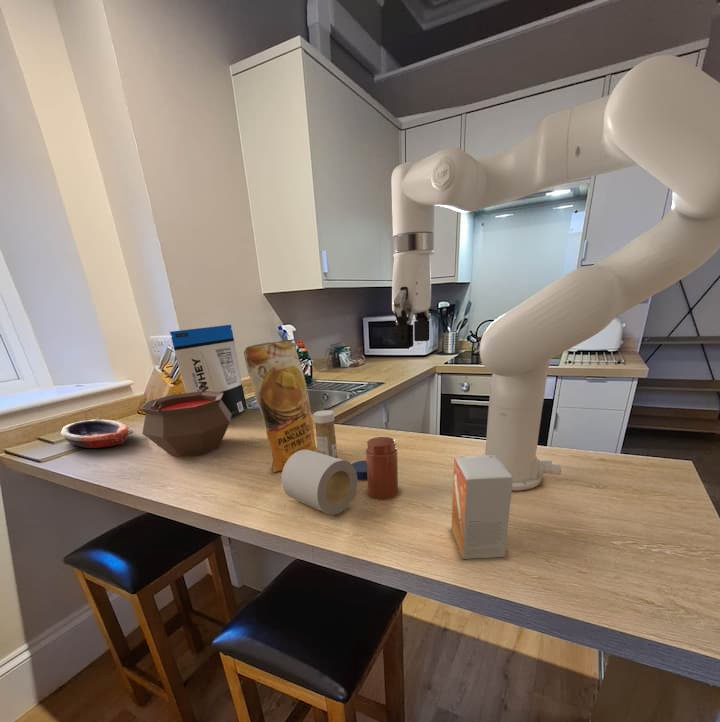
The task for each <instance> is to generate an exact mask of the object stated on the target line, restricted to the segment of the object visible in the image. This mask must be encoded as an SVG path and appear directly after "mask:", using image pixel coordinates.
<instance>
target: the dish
mask: <svg viewBox="0 0 720 722" xmlns="http://www.w3.org/2000/svg"><path fill="white" fill-rule="evenodd" d="M60 434H61V436H62V437H63V438H64V439H65V440H66V441H67V442H68V443H70V444H71V445H73V446H77V447H81V448H84V449H85V448H86V449H99V448H109V447H114V446H118V445H121V444H123V443H125V442H126V440H127V438H128V434H129V426H128V425H126V424H125V423H124V422H120V421H118V420H117V421H116V420H112V419H111V420H109V419H102V418H100V417H96V419H89V420H88V419H86V420H79V421H76V422H75V421H74V422H72V423H69V424H67V425H65V426H63V427H62V428H61V430H60Z"/></svg>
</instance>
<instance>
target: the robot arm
mask: <svg viewBox="0 0 720 722" xmlns="http://www.w3.org/2000/svg"><path fill="white" fill-rule="evenodd" d="M635 166H640V167H641V168H642V169H644V170H645V171H646V172H647V173H649V174H650V175H651V176H652V177H654V178H655V179H656V180H658V182H660V183H662V184H663V185H664V186H665V187H667V188H668V189H669V190H671V191H672V193H671V194H672V198H671V199H672V201H671V205H670V208H669V210H668V212H667V213H666V214H665V216H663V218H661V220H660V221H659V222H657V223H656V224H655V225H653V226H652V227H651V228H649V229H648V230H646V231H644V232H642V233H641V234H640V235H638V236H637V237H635V238H633V239H632V240H630V241H629V242H627V243H626V244H625V245H623V246H622V247H620V248H618V249H617V250H616V251H613V252H612V253H611V254H609V255H607V256H606V257H605V258H603V259H601V260H599V261H598V262H596V263H594V264H592V265H590V266H583V267H579V268H576V269H573V270H571V271H569V272H567V273H566V274H564V275H562V276H561V277H559V278H556V279H555V280H554V281H553V282H551V283H549V284H548V285H546V286H545V287H543V288H542V289H540V290H539V291H537V292H536V293H535V294H533V295H531V296H530V297H528V298H527V299H525V300H524V301H522V302H521V303H519V304H517V305H516V306H514V307H513V308H511V309H510V310H508V311H507V312H505V313H504V314H502V315H500V316H499V317H498V318H497V319H495V320H494V321H492V322H491V323H490V324H489V326H487V328H486V329H485V330H484V332H483V334H482V336H481V339H480V342H479V358H480V361H481V363H482V365H483V366H484V367H485V368H486V369H487V370H488V371H489V372H490V373H491V380H490V387H489V399H488V408H487V409H488V411H487V425H486V435H485V437H486V438H485V451H484V455H495V456H496V457H497V458H498V459H499V460H500V462H501V463H502V464H504V466H505V467H506V469H507V470H508V471H509V473H510V474H511V475H512V476H513V482H512V491H513V492H514V491H516V492H517V491H524V490H530V489H534V488H535V487H538V486H539V485H540V484H541V482H542V477H543V474H549V475H561V473H562V465H561V464H554V463H553V461H552V460H540V459H538V456H537V450H538V445H539V444H538V443H539V434H540V427H541V420H542V413H543V406H544V401H545V400H544V399H545V393H546V392H545V391H546V386H547V379H548V374H549V368H550V363H551V360H552V359H553V358H556V357H557V356H559V355H561V354H562V353H565V352H567V351H568V350H570V349H572V348H575V347H576V346H578V345H580V344H582V343H584V342H586V341H587V340H589V339H590V338H592V337H594V336H595V335H597V334H599V333H600V332H601V331H603V330H604V329H606V328H607V327H608V326H609V325H610V324H611V323H612V322H613V320H614V319H616V318H618V316H620V315H622V314H624V313H625V312H627V311H629V310H630V309H633V308H634V307H636V306H637V305H639V304H642V303H643V302H645V301H647V300H649V299H650V298H652V297H653V296H656V295H657V294H658V293H661V292H662V291H664V290H665V289H667V288H669V287H670V286H672V285H674V284H676V283H677V282H679V281H681V280H682V279H684V278H685V277H687V276H688V275H690V274H692V273H693V272H694V271H696V270H697V269H698V268H700V267H701V266H703V265H704V264H706V262H707V261H708V260H709V259H711V258H712V257H713V256H714V255H715V254H716V253H717V252H718V250H719V249H720V82H719V81H718V80H717V79H715V78H714V77H712V76H711V75H709V74H707V73H706V72H705V71H704V70H702V69H701V68H699V67H697V66H696V65H694V64H693V63H692V62H690V61H688V60H686V59H685V58H682V57H680V56H677V55H673V54H661V55H656V56H652V57H650V58H647V59H644V60H643V61H641V62H639V63H638V64H637V65H635V66H633V68H631V69H630V70H629V71H627V72H626V73H625V74H624V75H623V76H622V78H621V79H620V80H618V82H617V83H616V84H615V87H614V89H613V90H612V92H611V94H608V95H605V96H602V97H599V98H596V99H593V100H590V101H587V102H584V103H581V104H578V105H575V106H572V107H569V108H566V109H562V110H560V111H557V112H554V113H551V114H549V115H547V116H546V117H544V118H543V119H542V120H541V121H540V122H539V123H538V124H537V125H536V127H535V128H534V129H533V131H532V132H531V133H530V134H529V135H528V137H527V138H525V139H523V141H522V142H519V144H517V145H515V146H513V147H511V148H509V149H506V150H504V151H502V152H498V153H496V154H493V155H490V156H486V157H483V158H478V159H476V158H474V157H473V156H472V155H470V154H469V153H467V152H466V151H464V150H463V149H462V148H458V147H445V148H443V149H440V150H439V151H436V152H435V153H433V154H431V155H429V156H426V157H425V158H423V159H420V160H412V161H411V160H410V161H407V162H406V161H405V162H403V163H401V164H399V165H397V166H396V167H395V168H394V169H393V171H392V173H391V184H390V185H391V219H392V258H393V266H392V281H391V283H392V285H391V310H392V313H393V314H394V316H395V326H396V346H397V348H412V347H414V341H415V342H428V341H430V325H431V324H430V321H431V315H430V312H431V303H432V302H431V301H432V272H431V270H432V269H431V257H430V256H433V255H434V253H435V252H434V251H435V206H439V207H443V208H448V209H451V210H453V211H456V212H459V213H470V212H475V211H479V210H483V209H488V208H491V207H496V206H501V205H504V204H507V203H511V202H513V201H516V200H519V199H521V198H524V197H527V196H530V195H533V194H536V193H539V192H541V191H543V190H545V189H548V188H553V187H556V186H560V185H563V184H568V183H571V182H576V181H580V180H583V179H587V178H591V177H596V176H599V175H604V174H608V173H612V172H615V171H616V172H617V171H620V170H624V169H627V168H628V169H629V168H632V167H635ZM413 317H414V318H415V321H413ZM412 322H413V324H412Z"/></svg>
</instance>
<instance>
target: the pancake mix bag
mask: <svg viewBox="0 0 720 722" xmlns="http://www.w3.org/2000/svg"><path fill="white" fill-rule="evenodd" d="M243 355H244V361H245V366H246V370H247V372H248V376H249V378H250V380H251V381H250V382H251V384H252V388H253V393H254V397H255V401H256V403H257V406H258V409H259V410H260V413H261V415H262V418H263V421H264V425H265V430H266V435H267V440H268V443H269V445H270V450H271V455H272V456H271V457H272V464H271V465H272V466H271V467H272V472H273V473H277V472H281V471H283V468H284V466H285V464H286V462H287V460H288V459H289V458H290V457H291V456H292V455H293V454H294V453H296V452H298V451H300V450H311V451H314V452H317V444H316V440H315V431H314V424H313V423H314V422H313V419H312V418H313V417H312V410H311V404H310V397H309V392H308V387H307V382H306V378H305V374H304V370H303V367H302V363H301V361H300V357H299V353H298V350H297V347H296V343H295V342H293V340H292V339H285V340H280V341H274V342H264V343H258V344H254V345H250V346H246V347H245V349H244V352H243Z"/></svg>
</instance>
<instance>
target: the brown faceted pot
mask: <svg viewBox="0 0 720 722" xmlns="http://www.w3.org/2000/svg"><path fill="white" fill-rule="evenodd" d="M201 386H203V387H204V389H202V388H201ZM198 388H199V389H200V390H201V391H200V392H191V393H186V392H184V393H183V392H182V393H174V394H170V395H165V396H163V397H158V398H154V399H150V400H147V401H145V403H144V404H142V405H141V406H140V407H139V408H138V409H139V410H141V411H142V412H143V413H145V416H144V421H143V427H142V435H144V436H145V437H146V438H147V439H149V440H150V441H151V442H153V443H154V444H155V445H156V446H158V447H159V448H160V449H161V450H163V451H164V452H166V453H167V454H168V455H171V456H176V457H181V458H183V457H184V458H185V457H191V456H199V455H204V454H206V453H209V452H212V451H214V450H216V449H218V448H220V446H221V444H222V441H223V439H224V437H225V435H226V432H227V430H228V428H229V426H230V423H231V419H232V418H231V416H232V414H231V413H230V411H229V410H228V408H227V407H226V406H225V404H224V403H223V401H222V400H221V398H222V396H223V393H220V392H209V391H205V390H206V389H207V386H205V385H204V384H203V383H202V382H201V383H200V385H199V386H198Z"/></svg>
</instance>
